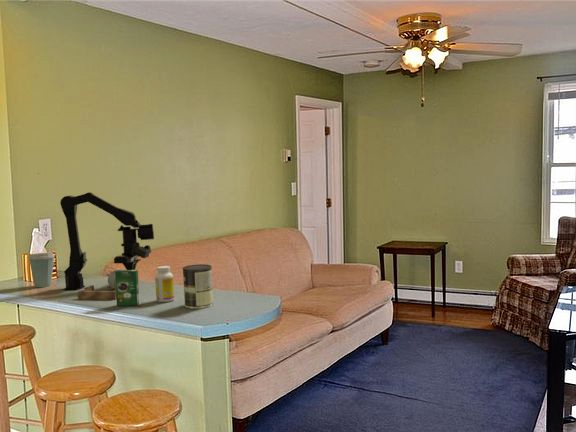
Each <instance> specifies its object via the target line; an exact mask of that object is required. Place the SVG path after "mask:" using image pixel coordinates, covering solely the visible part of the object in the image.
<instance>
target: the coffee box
mask: <svg viewBox="0 0 576 432" xmlns="http://www.w3.org/2000/svg"><path fill="white" fill-rule="evenodd" d="M114 271H115V278H116V289H115V290H116V306H117V307H124V306H125V307H129V306H132V307H134V306H137V307H138V306H139V304H140V294H139V293H140V291H139V287H140V286H139V270H138V269H135V270H126V269H117V270H114Z"/></svg>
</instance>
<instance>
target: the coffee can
mask: <svg viewBox="0 0 576 432" xmlns="http://www.w3.org/2000/svg"><path fill="white" fill-rule="evenodd" d="M182 275H183V276H182V278H183V279H182V280H183V293H184V294H183V295H184V297H183V298H184V299H183V300H184V307H185V308H187V309H189V310H190V309H191V310H198V309H206V308H210V307H212V306H213V305H214V300H213V299H214V298H213V297H214V296H213V276H212V275H213V274H212V265H210V264H205V263H203V264H200V263H199V264H189V265H185V266H182Z"/></svg>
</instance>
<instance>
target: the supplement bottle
mask: <svg viewBox="0 0 576 432" xmlns="http://www.w3.org/2000/svg"><path fill="white" fill-rule="evenodd" d="M156 270H157V273H156V274H155V276H154V278H155V279H154V280H155V281H154V282H155V296H156V301H157V303H170V302H173V301H174V300H175V288H174V287H175V286H174V285H175V283H174V275H173V273H172V272H171V271H170V270H171V267H170V266H169V265H163V266H157V267H156Z"/></svg>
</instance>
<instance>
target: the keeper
mask: <svg viewBox="0 0 576 432" xmlns="http://www.w3.org/2000/svg"><path fill="white" fill-rule="evenodd" d="M83 288H84V289H83V290H78V291H77V296H78V300H109V301H110V300H113V301H115V300H116V289H114V290H112V291H111V290H108V291H107V290H95V285H94V284H93V285H92V284H91V285H88V286H85V287H83Z"/></svg>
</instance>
